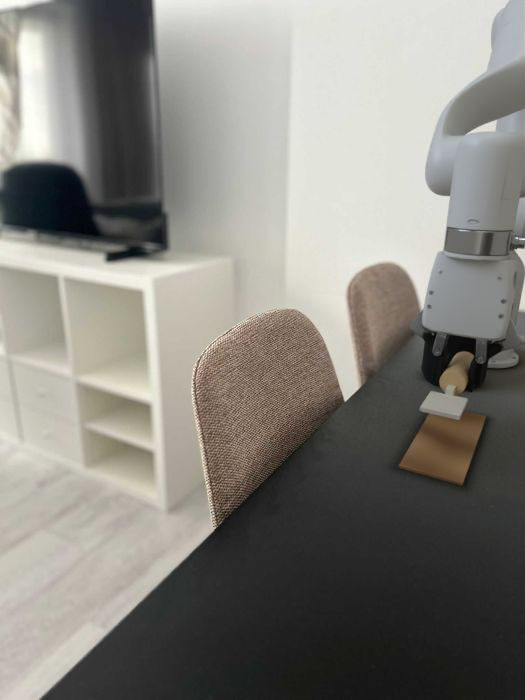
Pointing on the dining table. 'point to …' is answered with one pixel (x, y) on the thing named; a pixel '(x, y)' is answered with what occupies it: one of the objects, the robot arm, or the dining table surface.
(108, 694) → the dining table surface
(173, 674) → the dining table surface
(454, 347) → the coffee jar
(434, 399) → the spatula
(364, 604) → the dining table surface
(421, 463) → the wooden board
